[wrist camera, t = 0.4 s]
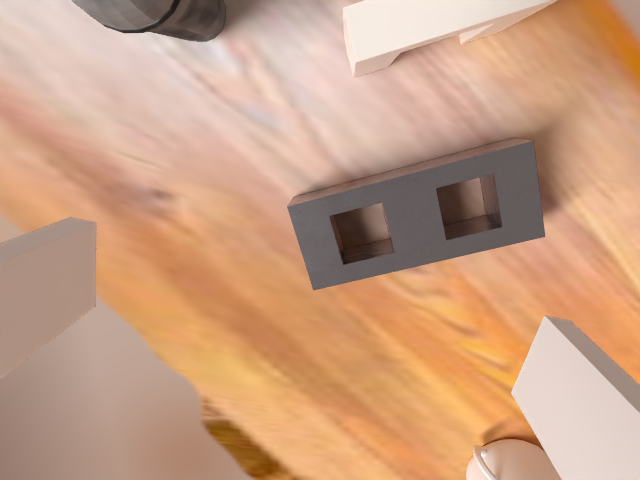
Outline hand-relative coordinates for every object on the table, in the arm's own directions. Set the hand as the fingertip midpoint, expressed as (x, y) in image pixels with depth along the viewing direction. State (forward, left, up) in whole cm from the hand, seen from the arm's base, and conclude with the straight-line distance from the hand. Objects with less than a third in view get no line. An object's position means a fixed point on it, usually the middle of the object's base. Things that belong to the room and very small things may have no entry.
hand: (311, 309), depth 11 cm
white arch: (-9, +10, -26) cm, 29 cm away
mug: (+37, +10, -26) cm, 46 cm away
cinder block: (+5, +6, -26) cm, 27 cm away
